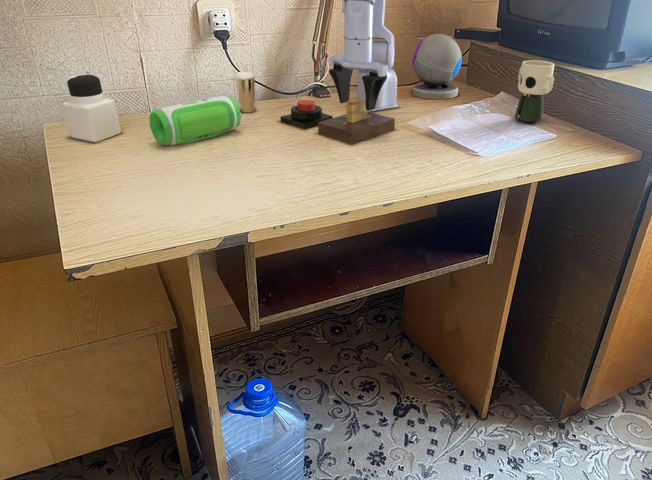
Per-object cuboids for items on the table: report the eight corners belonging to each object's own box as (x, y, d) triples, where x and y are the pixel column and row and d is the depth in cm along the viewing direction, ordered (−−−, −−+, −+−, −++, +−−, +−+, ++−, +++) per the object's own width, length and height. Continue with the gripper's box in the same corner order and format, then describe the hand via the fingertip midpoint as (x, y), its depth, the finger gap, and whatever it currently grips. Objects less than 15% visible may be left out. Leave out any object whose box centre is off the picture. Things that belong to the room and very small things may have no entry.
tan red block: (361, 117, 121) (362, 98, 119) (367, 118, 120) (367, 100, 118) (346, 121, 118) (346, 102, 116) (351, 123, 117) (352, 104, 115)
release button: (306, 106, 127) (306, 98, 126) (318, 110, 125) (318, 102, 124) (294, 109, 124) (293, 102, 123) (306, 113, 122) (305, 105, 121)
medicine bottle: (122, 133, 116) (109, 74, 110) (95, 143, 111) (80, 82, 104) (97, 128, 119) (83, 71, 112) (70, 137, 113) (54, 78, 107)
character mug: (501, 116, 133) (510, 59, 126) (524, 112, 135) (533, 57, 128) (531, 128, 124) (543, 69, 117) (555, 125, 127) (567, 66, 120)
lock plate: (361, 120, 127) (361, 108, 126) (394, 129, 122) (395, 117, 120) (318, 133, 119) (317, 121, 117) (351, 144, 113) (352, 131, 112)
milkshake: (260, 107, 135) (257, 65, 130) (254, 113, 130) (251, 70, 125) (242, 106, 135) (238, 64, 130) (236, 113, 131) (231, 69, 125)
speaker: (225, 125, 122) (221, 91, 118) (244, 133, 118) (241, 97, 114) (151, 142, 112) (144, 105, 108) (169, 151, 107) (162, 113, 103)
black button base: (309, 114, 131) (308, 101, 129) (332, 121, 126) (332, 108, 125) (280, 121, 125) (279, 108, 124) (304, 129, 121) (303, 116, 119)
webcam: (419, 85, 157) (423, 29, 150) (463, 90, 153) (469, 32, 145) (404, 95, 147) (408, 35, 139) (450, 101, 143) (457, 40, 135)
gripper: (318, 35, 112) (320, 102, 119) (372, 44, 103) (370, 116, 111) (342, 31, 116) (342, 96, 123) (395, 40, 108) (392, 109, 115)
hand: (357, 105), depth 117 cm, fingers open, 7 cm apart
